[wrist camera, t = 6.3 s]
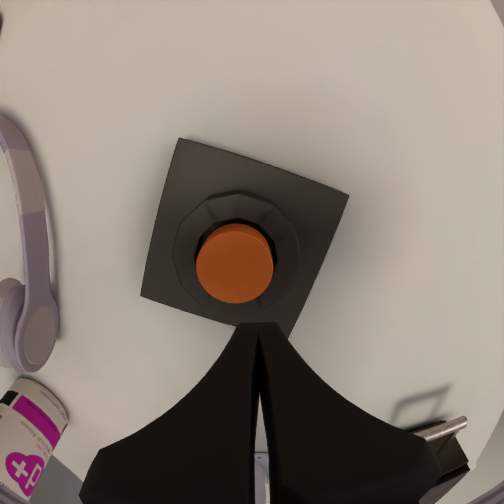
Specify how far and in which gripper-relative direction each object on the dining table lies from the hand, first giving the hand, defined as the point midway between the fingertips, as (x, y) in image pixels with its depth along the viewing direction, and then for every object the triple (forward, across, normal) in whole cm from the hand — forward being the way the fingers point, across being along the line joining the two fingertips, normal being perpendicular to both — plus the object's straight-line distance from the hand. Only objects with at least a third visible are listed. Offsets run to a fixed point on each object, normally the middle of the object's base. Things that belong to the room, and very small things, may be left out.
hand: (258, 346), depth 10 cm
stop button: (+6, +1, -1) cm, 6 cm away
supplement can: (+9, +26, +18) cm, 33 cm away
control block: (+9, +1, -1) cm, 9 cm away
